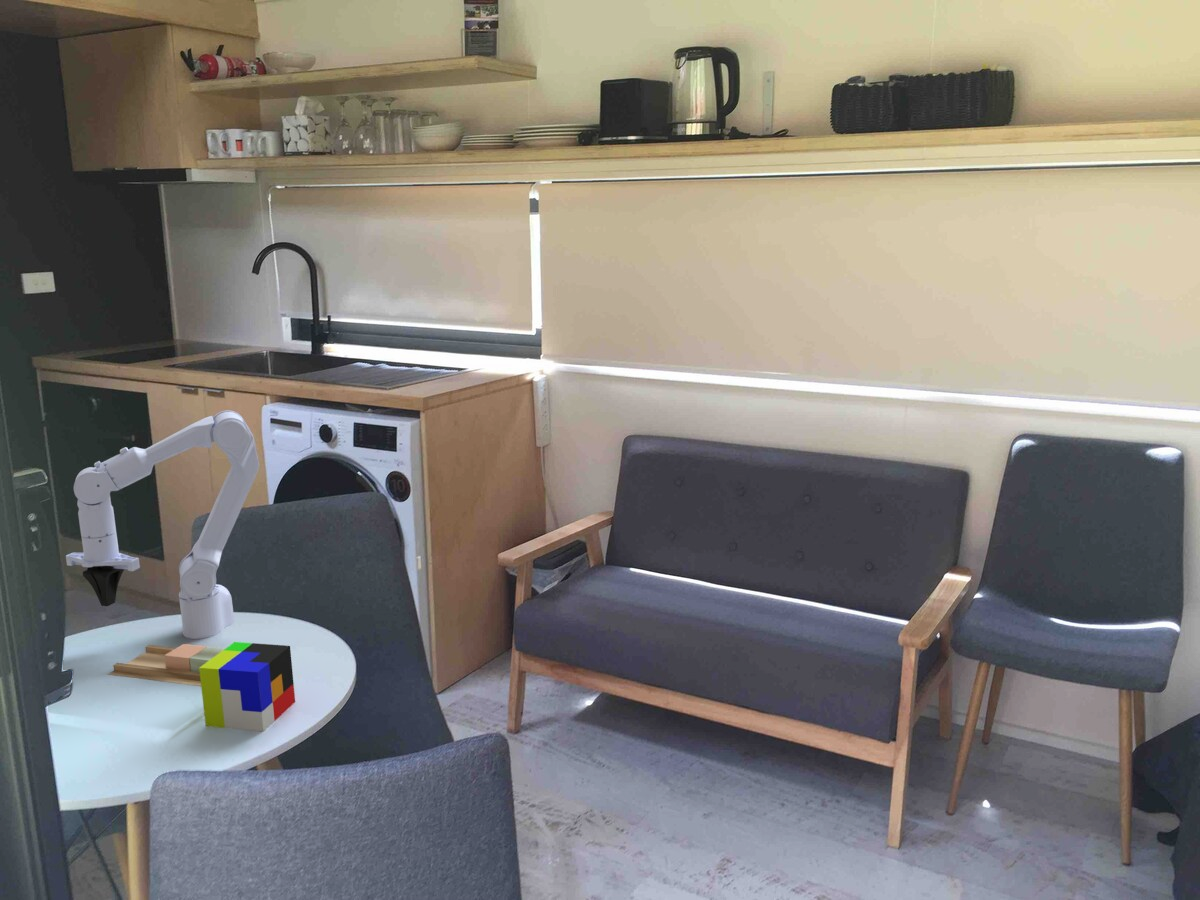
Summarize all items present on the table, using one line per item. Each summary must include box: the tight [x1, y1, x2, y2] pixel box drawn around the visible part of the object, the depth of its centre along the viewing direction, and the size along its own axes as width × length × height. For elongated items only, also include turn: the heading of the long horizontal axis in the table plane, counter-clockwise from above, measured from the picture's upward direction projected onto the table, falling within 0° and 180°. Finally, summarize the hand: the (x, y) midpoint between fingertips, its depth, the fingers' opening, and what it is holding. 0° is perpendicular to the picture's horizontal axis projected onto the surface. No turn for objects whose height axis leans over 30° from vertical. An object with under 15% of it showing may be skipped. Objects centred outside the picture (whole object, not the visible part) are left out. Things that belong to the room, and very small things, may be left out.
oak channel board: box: [108, 644, 226, 687], centre depth 175 cm, size 12×26×4 cm, turn 74°
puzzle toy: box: [199, 641, 296, 732], centre depth 159 cm, size 10×10×10 cm
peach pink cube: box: [164, 643, 208, 672], centre depth 175 cm, size 5×5×3 cm
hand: (108, 604), depth 183 cm, fingers closed
